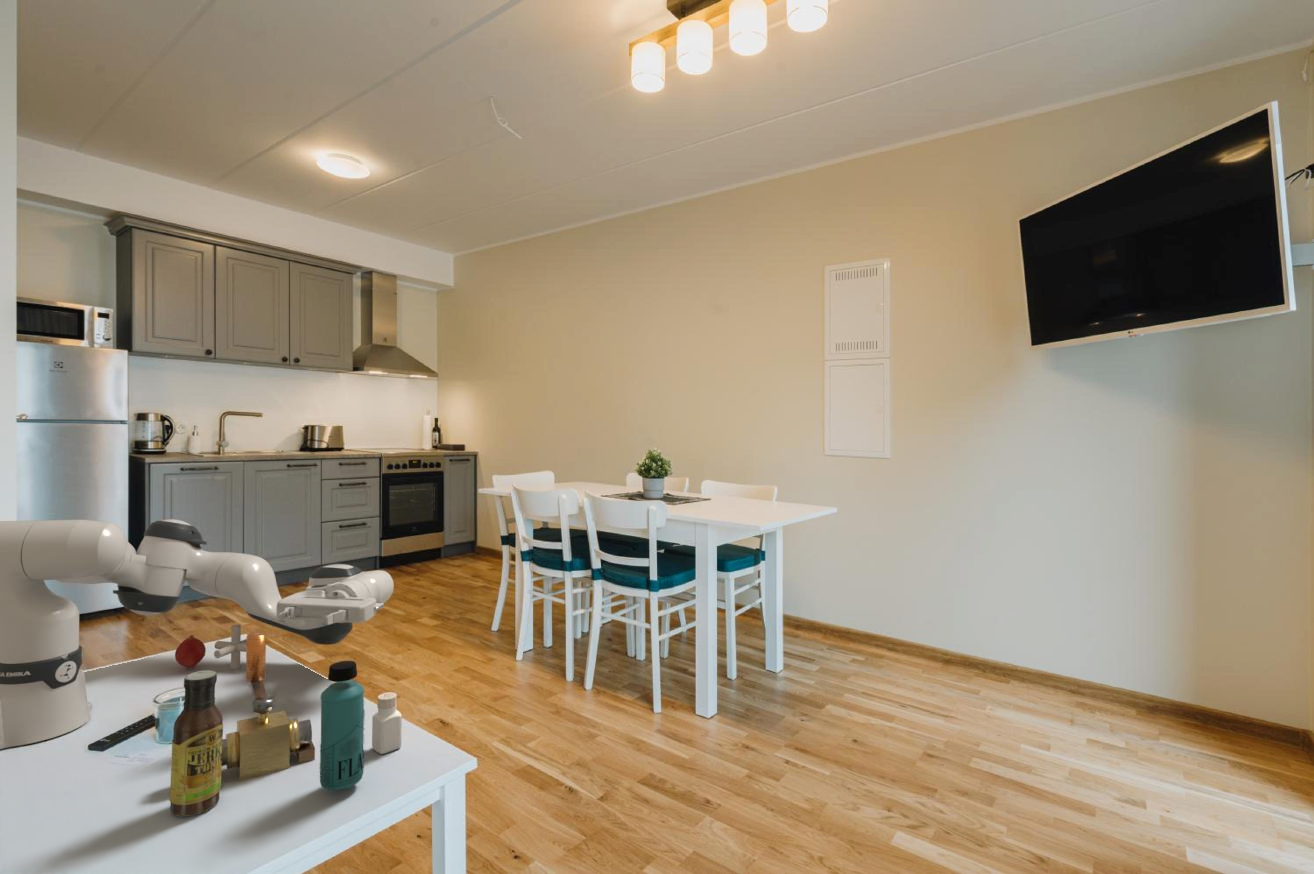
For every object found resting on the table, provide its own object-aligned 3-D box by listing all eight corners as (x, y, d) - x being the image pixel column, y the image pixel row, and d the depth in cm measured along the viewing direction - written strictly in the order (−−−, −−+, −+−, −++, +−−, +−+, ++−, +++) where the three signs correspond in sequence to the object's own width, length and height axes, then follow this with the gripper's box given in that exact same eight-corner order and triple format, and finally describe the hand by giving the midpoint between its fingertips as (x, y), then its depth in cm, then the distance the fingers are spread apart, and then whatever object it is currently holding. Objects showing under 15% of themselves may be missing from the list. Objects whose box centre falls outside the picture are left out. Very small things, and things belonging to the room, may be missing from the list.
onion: (168, 671, 147) (168, 637, 147) (190, 663, 153) (190, 629, 153) (190, 674, 146) (190, 639, 146) (211, 664, 152) (212, 631, 152)
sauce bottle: (187, 823, 92) (189, 686, 92) (159, 813, 94) (161, 679, 94) (231, 800, 98) (233, 671, 97) (204, 790, 100) (205, 664, 100)
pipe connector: (235, 678, 144) (236, 634, 144) (198, 673, 146) (199, 630, 146) (270, 662, 154) (271, 621, 154) (235, 658, 156) (236, 618, 156)
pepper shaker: (370, 748, 114) (371, 695, 114) (392, 740, 117) (393, 689, 117) (380, 756, 111) (381, 702, 111) (402, 748, 114) (403, 695, 114)
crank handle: (275, 709, 107) (276, 655, 107) (253, 714, 105) (254, 658, 105) (264, 680, 119) (265, 631, 119) (244, 684, 117) (245, 634, 117)
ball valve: (182, 796, 98) (182, 735, 98) (181, 779, 103) (181, 720, 103) (315, 760, 110) (315, 705, 110) (309, 746, 114) (309, 693, 114)
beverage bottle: (334, 805, 97) (335, 674, 97) (309, 791, 100) (311, 665, 100) (373, 785, 102) (374, 661, 102) (348, 773, 106) (350, 653, 106)
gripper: (388, 617, 141) (350, 637, 128) (303, 613, 144) (257, 632, 130) (388, 589, 141) (350, 606, 128) (303, 585, 144) (257, 601, 130)
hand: (302, 619), depth 129 cm, fingers open, 8 cm apart
